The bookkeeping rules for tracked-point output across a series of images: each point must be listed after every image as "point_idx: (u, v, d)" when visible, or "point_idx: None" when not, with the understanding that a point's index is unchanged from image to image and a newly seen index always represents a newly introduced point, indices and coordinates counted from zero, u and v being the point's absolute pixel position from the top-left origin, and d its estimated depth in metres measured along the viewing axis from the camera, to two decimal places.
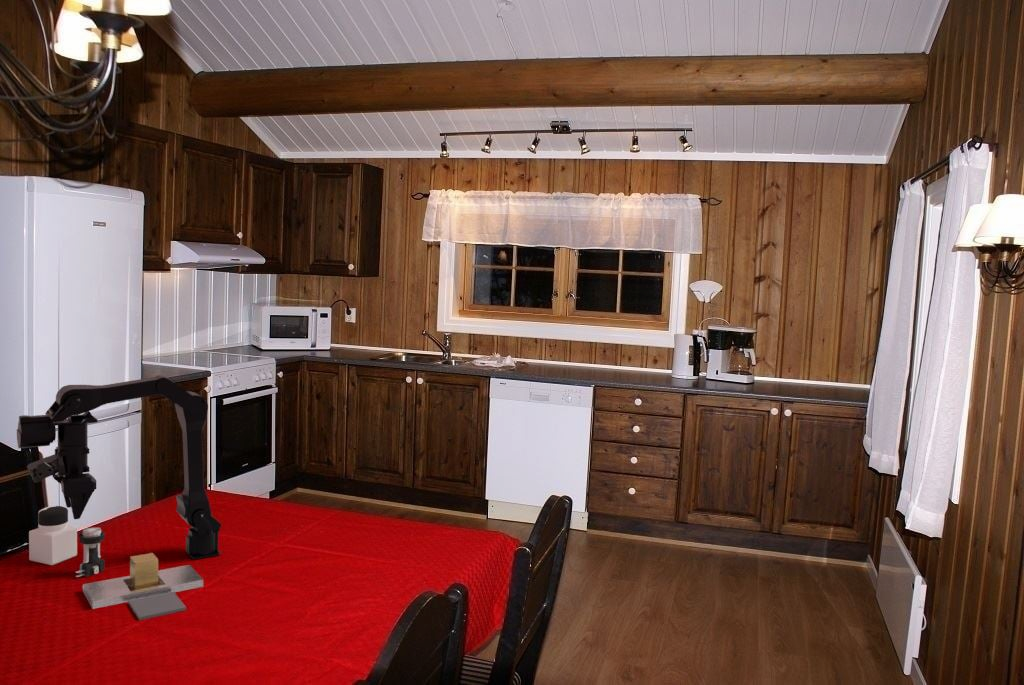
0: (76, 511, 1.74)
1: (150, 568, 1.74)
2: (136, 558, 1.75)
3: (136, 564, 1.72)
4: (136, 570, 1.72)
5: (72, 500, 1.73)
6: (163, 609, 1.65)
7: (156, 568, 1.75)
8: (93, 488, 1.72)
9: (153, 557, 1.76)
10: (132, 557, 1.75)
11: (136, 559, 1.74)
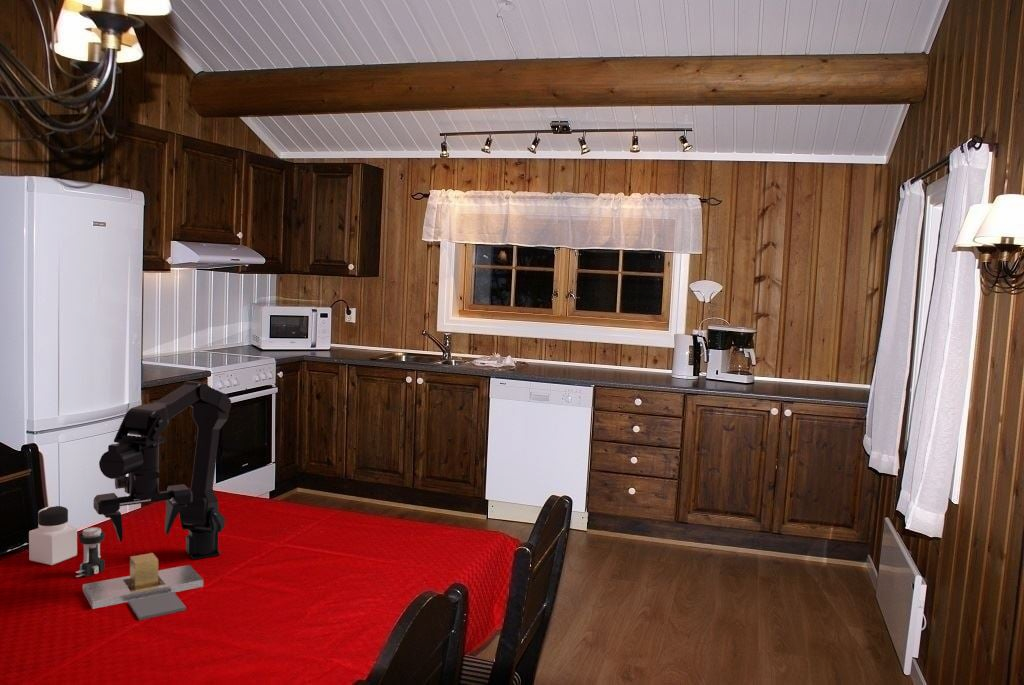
0: None
1: (150, 568, 1.74)
2: (136, 558, 1.75)
3: (136, 564, 1.72)
4: (136, 570, 1.72)
5: (111, 519, 1.71)
6: (163, 609, 1.65)
7: (156, 568, 1.75)
8: (98, 512, 1.66)
9: (153, 557, 1.76)
10: (132, 557, 1.75)
11: (136, 559, 1.74)
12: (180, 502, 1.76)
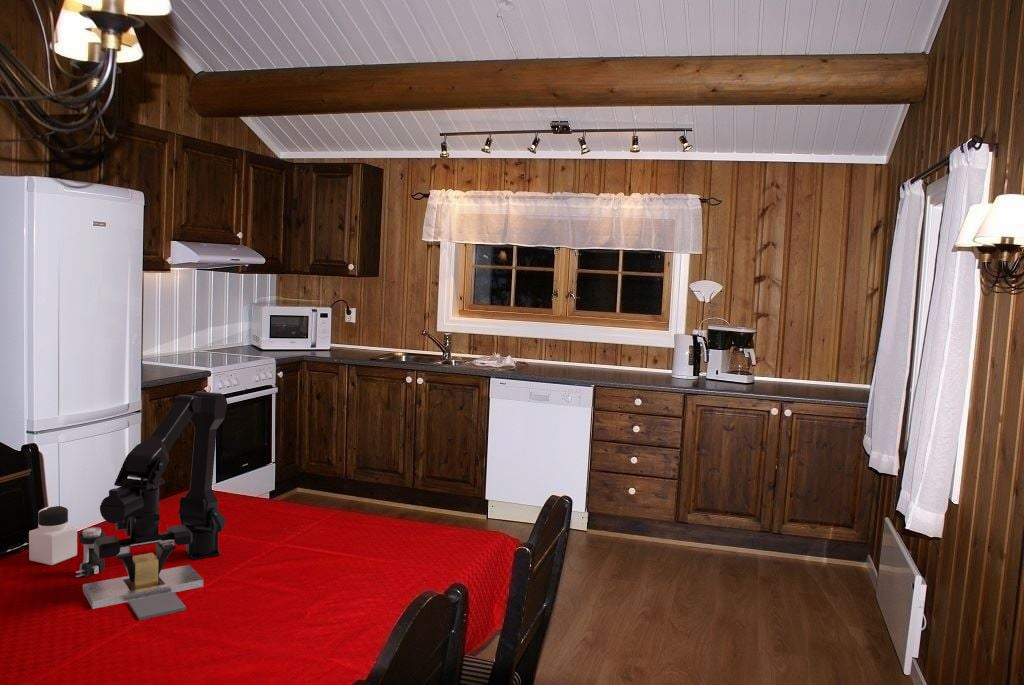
0: None
1: (150, 568, 1.74)
2: (136, 558, 1.75)
3: (136, 564, 1.72)
4: (136, 570, 1.72)
5: (122, 560, 1.73)
6: (163, 609, 1.65)
7: (156, 568, 1.75)
8: (99, 556, 1.67)
9: (153, 557, 1.76)
10: None
11: (136, 559, 1.74)
12: (180, 544, 1.76)
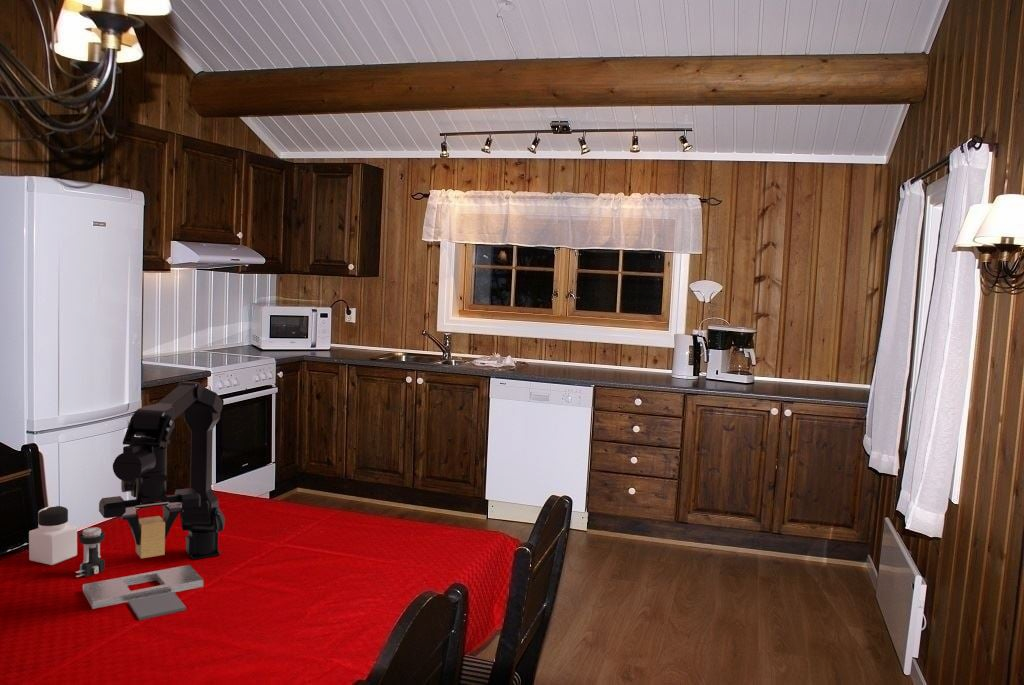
0: None
1: (157, 530, 1.68)
2: (142, 520, 1.68)
3: (142, 526, 1.66)
4: (142, 532, 1.66)
5: (128, 522, 1.67)
6: (163, 609, 1.65)
7: (163, 531, 1.68)
8: (104, 516, 1.61)
9: (160, 519, 1.69)
10: None
11: (142, 521, 1.68)
12: (188, 506, 1.70)
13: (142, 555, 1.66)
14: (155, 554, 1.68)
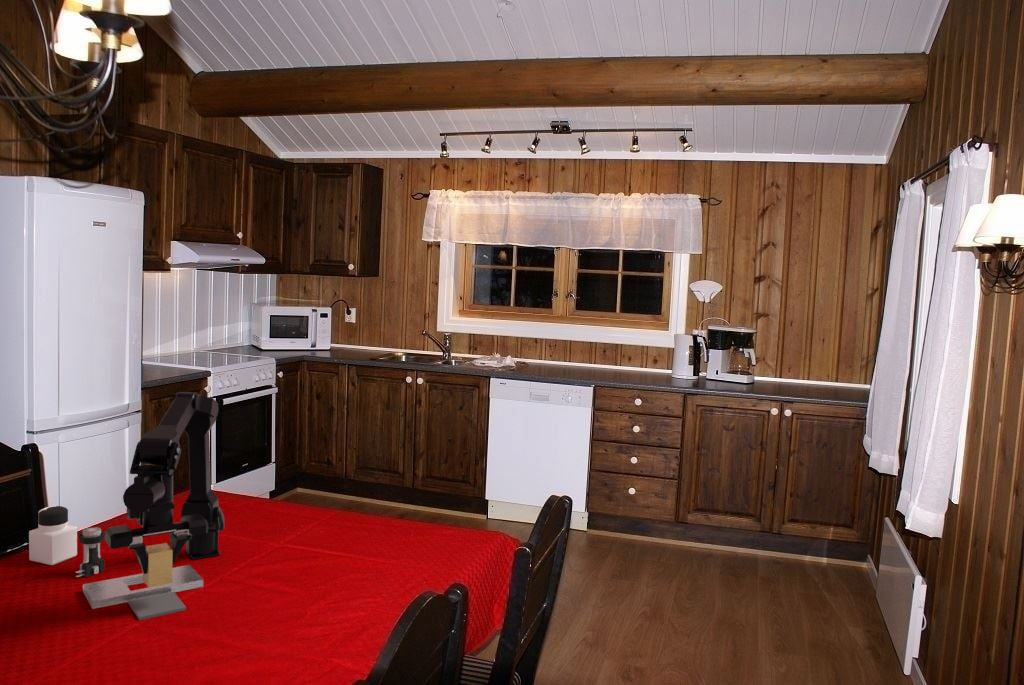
0: (141, 564, 1.65)
1: (164, 558, 1.65)
2: (149, 548, 1.66)
3: (149, 554, 1.63)
4: (149, 561, 1.63)
5: (134, 550, 1.65)
6: (163, 609, 1.65)
7: (170, 559, 1.66)
8: (110, 546, 1.58)
9: (167, 547, 1.67)
10: None
11: (149, 550, 1.65)
12: (195, 533, 1.68)
13: (150, 584, 1.64)
14: (163, 582, 1.66)
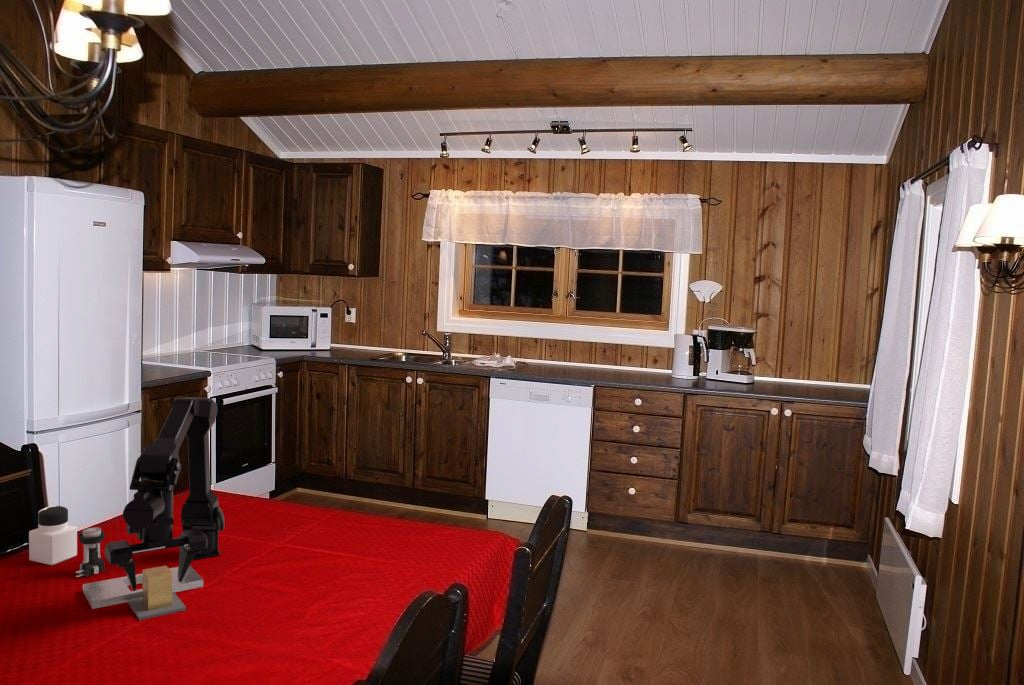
0: None
1: (164, 582, 1.66)
2: (149, 571, 1.66)
3: (149, 578, 1.64)
4: (149, 584, 1.64)
5: (124, 568, 1.64)
6: (163, 609, 1.65)
7: (170, 582, 1.66)
8: (110, 562, 1.59)
9: (167, 570, 1.67)
10: (144, 570, 1.67)
11: (149, 573, 1.66)
12: (195, 548, 1.68)
13: (149, 607, 1.64)
14: (162, 605, 1.66)
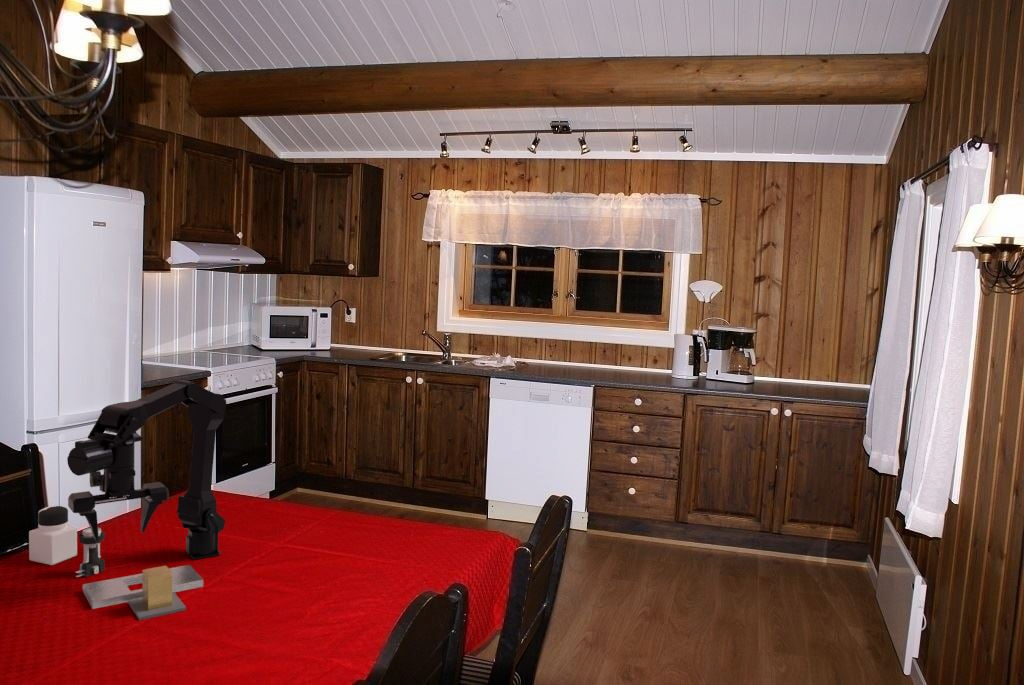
0: (92, 531, 1.71)
1: (164, 582, 1.66)
2: (149, 571, 1.66)
3: (149, 578, 1.64)
4: (149, 584, 1.64)
5: (86, 518, 1.70)
6: (163, 609, 1.65)
7: (170, 582, 1.66)
8: (73, 511, 1.65)
9: (167, 570, 1.67)
10: (144, 570, 1.67)
11: (149, 573, 1.66)
12: (156, 500, 1.75)
13: (149, 607, 1.64)
14: (162, 605, 1.66)
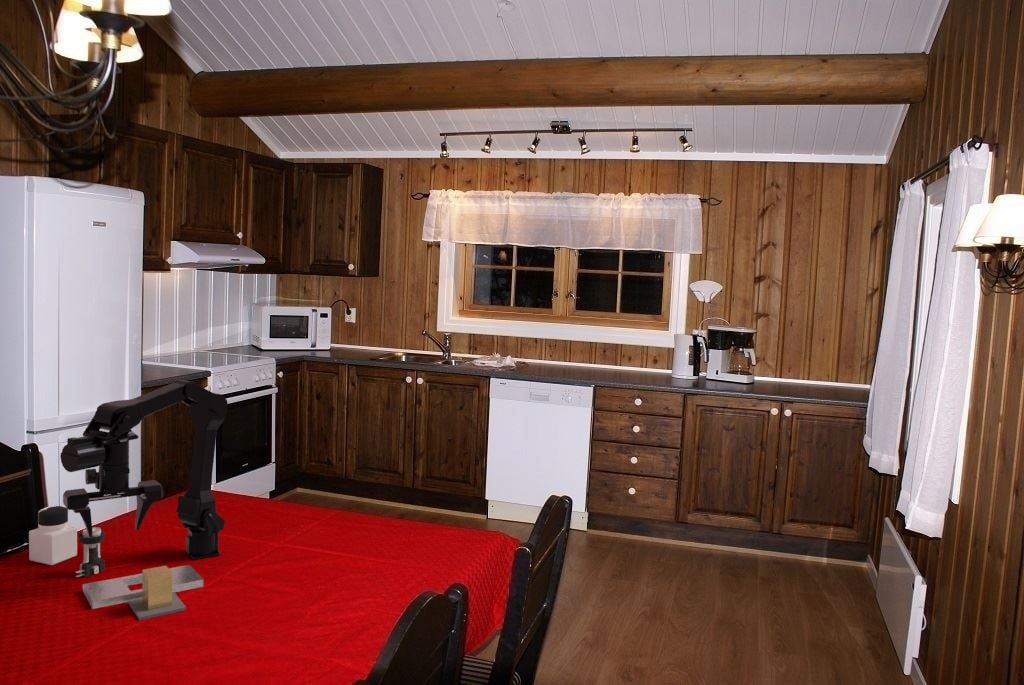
0: (87, 528, 1.72)
1: (164, 582, 1.66)
2: (149, 571, 1.66)
3: (149, 578, 1.64)
4: (149, 584, 1.64)
5: None
6: (163, 609, 1.65)
7: (170, 582, 1.66)
8: (67, 508, 1.67)
9: (167, 570, 1.67)
10: (144, 570, 1.67)
11: (149, 573, 1.66)
12: (150, 498, 1.76)
13: (149, 607, 1.64)
14: (162, 605, 1.66)
